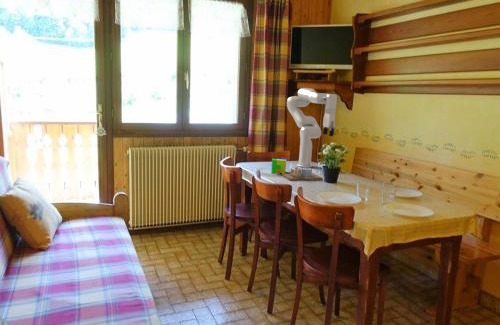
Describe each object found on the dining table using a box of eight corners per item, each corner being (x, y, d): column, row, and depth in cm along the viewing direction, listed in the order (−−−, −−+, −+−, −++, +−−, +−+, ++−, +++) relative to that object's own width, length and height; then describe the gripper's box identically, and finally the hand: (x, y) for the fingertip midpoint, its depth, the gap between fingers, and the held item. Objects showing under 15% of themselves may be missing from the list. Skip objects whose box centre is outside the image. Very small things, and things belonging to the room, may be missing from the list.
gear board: (282, 175, 275) (283, 165, 274) (313, 175, 282) (314, 165, 280) (289, 180, 262) (290, 169, 260) (322, 180, 268) (323, 169, 267)
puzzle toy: (285, 171, 290) (286, 158, 288) (285, 174, 280) (286, 160, 278) (271, 170, 291) (272, 157, 289) (271, 173, 281) (272, 159, 279)
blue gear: (299, 174, 275) (300, 167, 274) (308, 174, 276) (309, 167, 275) (303, 177, 268) (304, 169, 267) (312, 176, 270) (313, 169, 269)
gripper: (320, 110, 290) (318, 133, 293) (331, 112, 273) (328, 136, 277) (329, 110, 292) (327, 133, 295) (340, 112, 275) (338, 136, 279)
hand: (328, 135), depth 286 cm, fingers open, 9 cm apart
